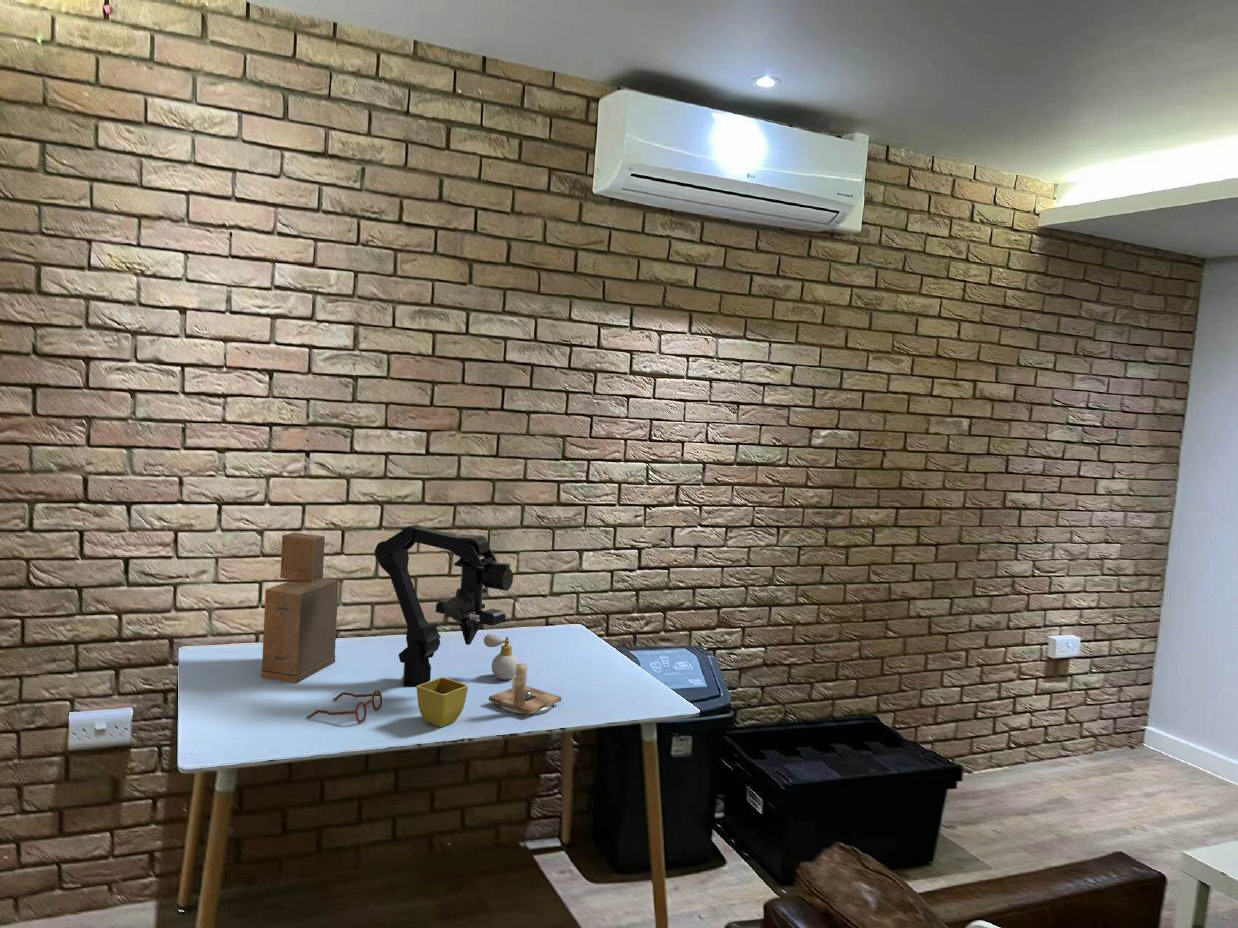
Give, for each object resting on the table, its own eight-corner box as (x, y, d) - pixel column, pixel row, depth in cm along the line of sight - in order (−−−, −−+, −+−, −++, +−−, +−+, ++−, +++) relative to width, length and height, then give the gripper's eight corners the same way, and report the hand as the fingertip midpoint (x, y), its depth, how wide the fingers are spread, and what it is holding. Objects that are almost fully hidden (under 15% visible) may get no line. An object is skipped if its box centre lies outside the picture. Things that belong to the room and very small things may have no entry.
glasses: (358, 727, 204) (359, 706, 203) (305, 719, 206) (306, 698, 206) (383, 708, 217) (384, 688, 216) (333, 700, 219) (334, 681, 219)
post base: (501, 716, 216) (502, 700, 216) (491, 691, 233) (492, 677, 232) (557, 714, 220) (559, 698, 220) (543, 690, 237) (545, 676, 236)
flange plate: (528, 714, 216) (531, 670, 215) (488, 700, 223) (491, 657, 222) (561, 700, 227) (564, 658, 226) (521, 688, 234) (524, 647, 233)
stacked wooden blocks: (288, 655, 249) (294, 532, 246) (335, 662, 246) (341, 537, 243) (247, 675, 230) (252, 542, 227) (296, 683, 228) (303, 548, 225)
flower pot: (440, 732, 204) (443, 694, 203) (413, 722, 208) (415, 685, 207) (466, 722, 211) (469, 685, 210) (439, 712, 216) (441, 676, 215)
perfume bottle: (521, 681, 242) (524, 638, 241) (486, 684, 238) (489, 640, 237) (513, 673, 249) (516, 631, 248) (479, 674, 245) (482, 632, 244)
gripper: (422, 583, 225) (419, 643, 226) (481, 596, 216) (476, 659, 217) (451, 576, 235) (447, 634, 236) (508, 589, 226) (504, 649, 227)
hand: (468, 644), depth 229 cm, fingers closed
